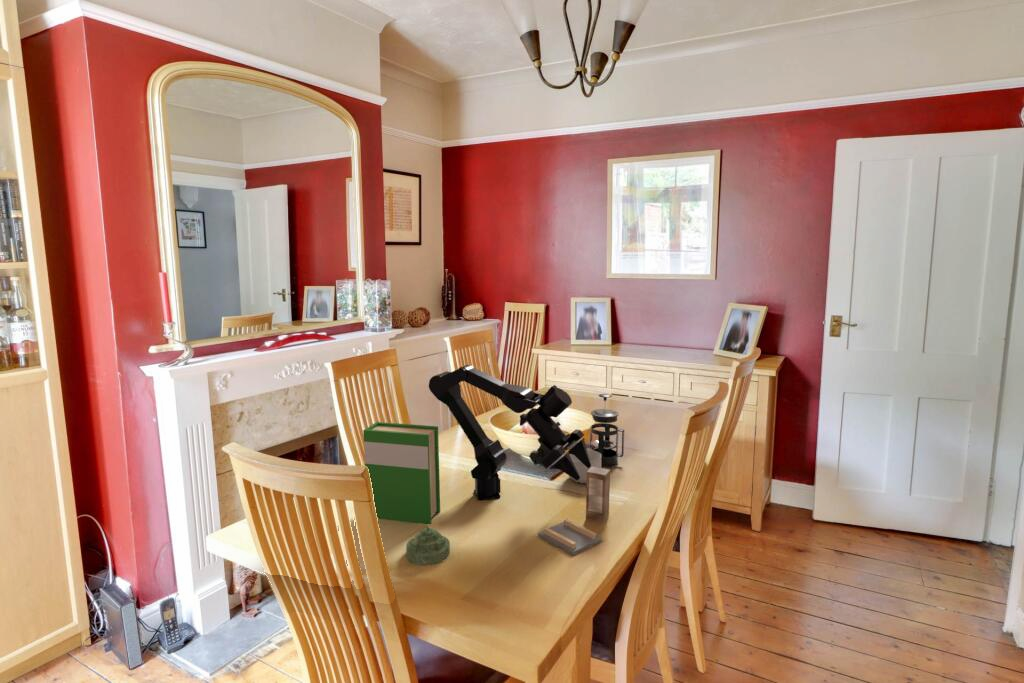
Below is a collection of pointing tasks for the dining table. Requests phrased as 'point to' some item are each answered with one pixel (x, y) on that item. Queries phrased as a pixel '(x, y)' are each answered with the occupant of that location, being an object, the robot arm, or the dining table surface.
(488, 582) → the dining table surface
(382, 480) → the hardback book
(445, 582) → the dining table surface
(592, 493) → the wooden block
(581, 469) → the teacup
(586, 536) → the grey stand base
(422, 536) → the decorative artifact
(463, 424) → the robot arm
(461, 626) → the dining table surface
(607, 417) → the french press
